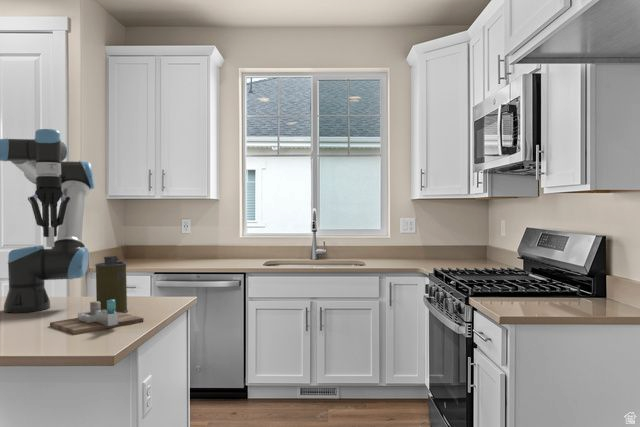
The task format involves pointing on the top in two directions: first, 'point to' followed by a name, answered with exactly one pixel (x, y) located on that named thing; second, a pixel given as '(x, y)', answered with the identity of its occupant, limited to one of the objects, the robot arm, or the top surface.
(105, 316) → the square loop handle
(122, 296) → the canister
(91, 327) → the board
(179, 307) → the top surface
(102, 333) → the top surface
